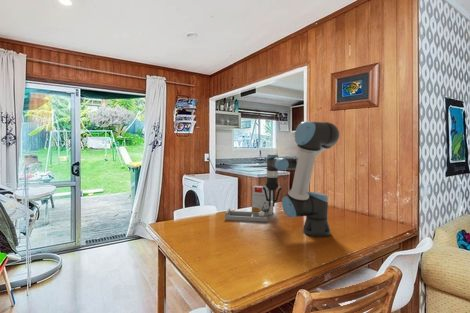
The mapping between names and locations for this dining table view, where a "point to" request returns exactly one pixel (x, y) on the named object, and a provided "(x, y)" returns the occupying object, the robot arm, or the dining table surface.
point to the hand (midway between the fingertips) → (271, 211)
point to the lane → (245, 216)
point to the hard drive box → (261, 200)
